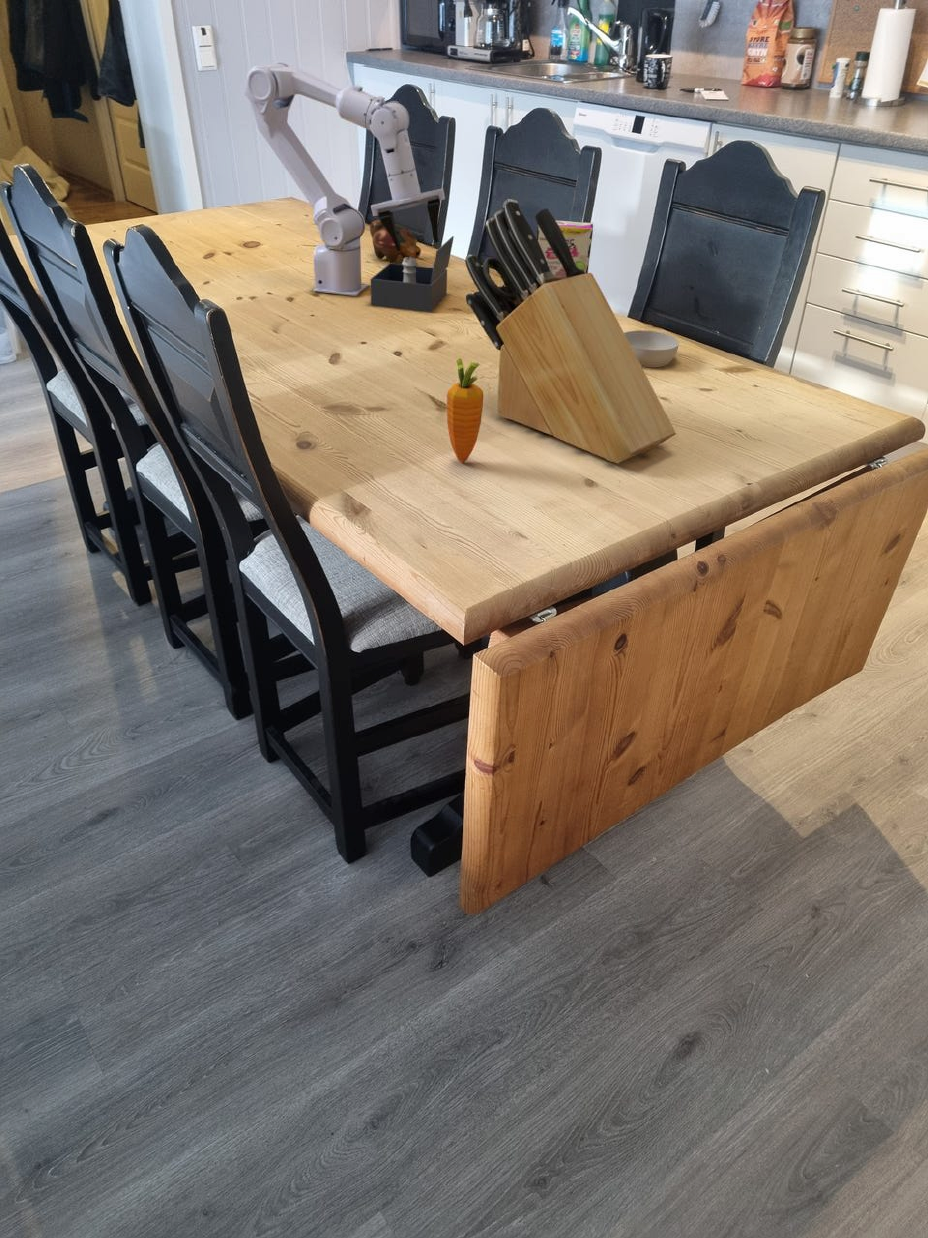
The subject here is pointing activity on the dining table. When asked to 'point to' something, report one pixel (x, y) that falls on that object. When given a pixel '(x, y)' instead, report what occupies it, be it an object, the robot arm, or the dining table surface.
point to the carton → (408, 289)
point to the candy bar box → (578, 243)
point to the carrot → (464, 411)
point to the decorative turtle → (386, 245)
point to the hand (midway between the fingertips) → (417, 245)
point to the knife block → (561, 345)
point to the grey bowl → (652, 347)
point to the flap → (442, 258)
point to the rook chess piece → (409, 270)
